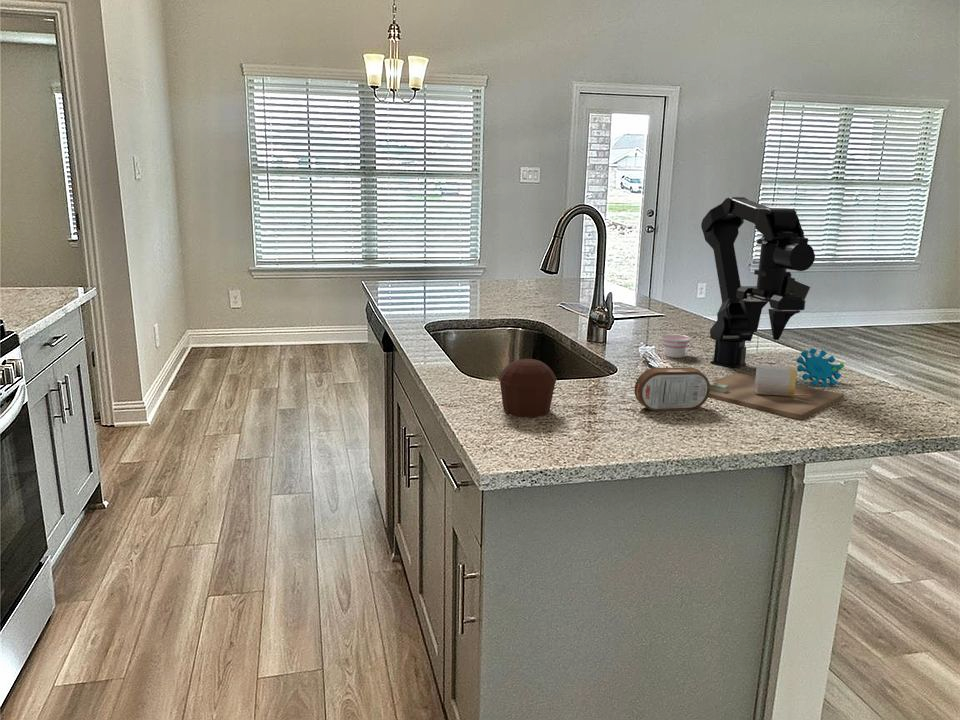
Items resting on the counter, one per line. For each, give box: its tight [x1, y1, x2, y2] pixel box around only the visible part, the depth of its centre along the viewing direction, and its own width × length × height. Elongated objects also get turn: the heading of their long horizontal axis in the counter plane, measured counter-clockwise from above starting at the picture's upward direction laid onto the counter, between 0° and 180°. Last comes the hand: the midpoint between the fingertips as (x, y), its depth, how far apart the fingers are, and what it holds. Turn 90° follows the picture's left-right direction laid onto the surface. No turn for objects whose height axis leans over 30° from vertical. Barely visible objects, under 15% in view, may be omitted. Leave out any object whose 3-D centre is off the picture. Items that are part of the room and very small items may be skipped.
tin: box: [633, 367, 710, 412], centre depth 138 cm, size 15×3×8 cm, turn 99°
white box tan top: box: [754, 364, 798, 397], centre depth 146 cm, size 7×3×6 cm, turn 80°
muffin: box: [497, 358, 558, 419], centre depth 135 cm, size 12×11×10 cm
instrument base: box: [708, 372, 845, 421], centre depth 149 cm, size 24×22×3 cm
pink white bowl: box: [659, 333, 692, 359], centre depth 181 cm, size 12×12×6 cm
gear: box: [796, 348, 845, 388], centre depth 160 cm, size 11×6×10 cm
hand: (764, 335), depth 158 cm, fingers open, 9 cm apart
